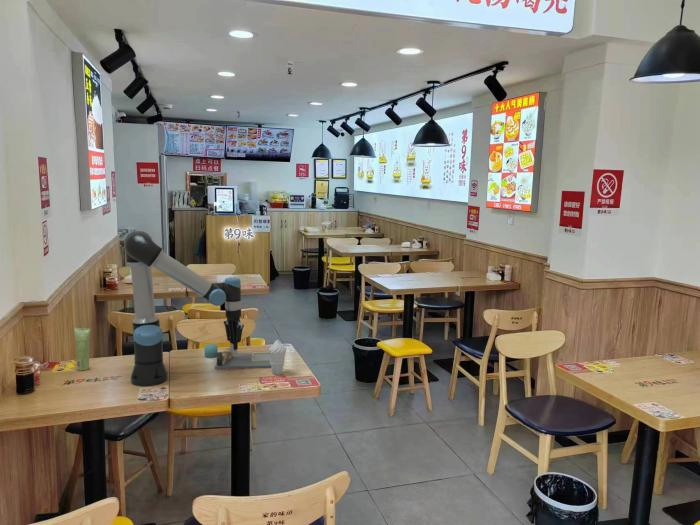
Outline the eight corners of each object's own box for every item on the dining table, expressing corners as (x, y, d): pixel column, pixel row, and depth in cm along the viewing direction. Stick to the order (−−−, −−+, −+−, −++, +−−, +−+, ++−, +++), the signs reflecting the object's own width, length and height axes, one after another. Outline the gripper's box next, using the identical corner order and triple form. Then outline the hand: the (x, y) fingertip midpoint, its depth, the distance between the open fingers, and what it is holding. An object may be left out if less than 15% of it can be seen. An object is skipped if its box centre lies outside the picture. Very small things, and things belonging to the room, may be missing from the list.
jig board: (215, 369, 245) (215, 365, 244) (219, 355, 264) (219, 352, 264) (279, 367, 249) (279, 363, 249) (278, 354, 269) (278, 351, 268)
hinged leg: (221, 365, 245) (221, 353, 244) (215, 365, 246) (215, 353, 245) (233, 356, 259) (233, 345, 258) (227, 356, 260) (227, 344, 259)
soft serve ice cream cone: (284, 376, 237) (285, 343, 235) (266, 376, 237) (266, 342, 235) (287, 370, 245) (287, 338, 243) (269, 370, 245) (270, 337, 243)
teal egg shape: (203, 358, 260) (203, 347, 259) (205, 354, 266) (205, 344, 265) (216, 358, 261) (216, 347, 260) (218, 354, 267) (218, 343, 266)
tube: (89, 366, 244) (87, 326, 241) (92, 369, 240) (90, 328, 237) (75, 368, 240) (74, 327, 237) (78, 371, 236) (76, 330, 234)
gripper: (248, 309, 252) (248, 356, 255) (231, 305, 260) (231, 351, 263) (235, 312, 246) (236, 360, 249) (218, 308, 254) (219, 354, 257)
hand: (234, 355), depth 256 cm, fingers closed
